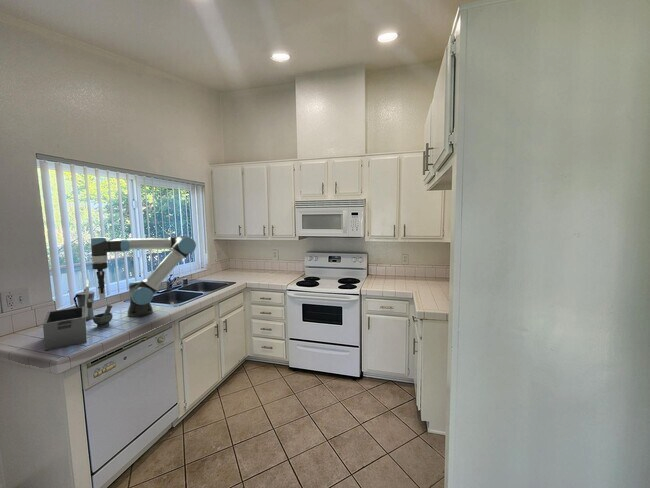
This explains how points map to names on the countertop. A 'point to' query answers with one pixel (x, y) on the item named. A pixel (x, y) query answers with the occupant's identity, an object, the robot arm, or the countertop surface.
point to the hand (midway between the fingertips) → (101, 296)
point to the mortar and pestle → (103, 318)
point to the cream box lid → (87, 301)
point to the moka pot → (82, 302)
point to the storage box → (64, 328)
